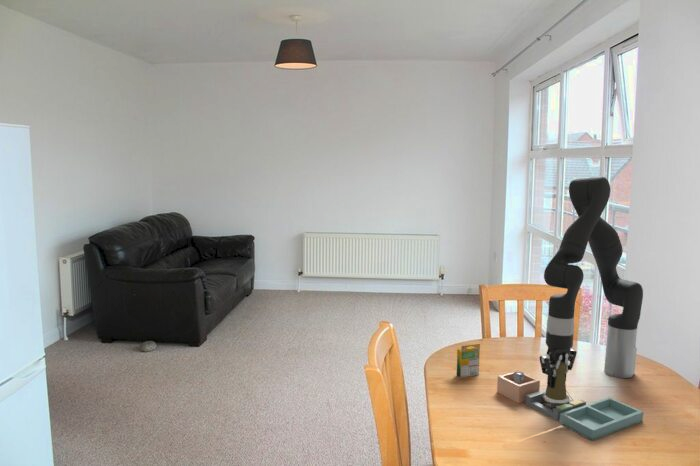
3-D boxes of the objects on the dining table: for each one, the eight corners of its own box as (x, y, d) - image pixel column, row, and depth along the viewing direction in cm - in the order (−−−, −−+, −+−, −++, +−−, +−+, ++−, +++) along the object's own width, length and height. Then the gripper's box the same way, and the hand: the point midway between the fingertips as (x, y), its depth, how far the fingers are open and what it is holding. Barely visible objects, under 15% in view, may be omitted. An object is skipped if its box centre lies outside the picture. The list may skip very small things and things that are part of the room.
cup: (517, 388, 182) (518, 370, 181) (538, 398, 174) (539, 380, 173) (496, 393, 177) (497, 375, 176) (518, 405, 170) (519, 386, 169)
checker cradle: (552, 397, 175) (553, 386, 174) (585, 413, 165) (586, 401, 164) (525, 405, 169) (526, 394, 169) (557, 422, 159) (558, 410, 158)
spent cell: (517, 391, 178) (518, 370, 177) (525, 395, 175) (526, 374, 174) (510, 393, 176) (511, 372, 175) (517, 397, 173) (519, 376, 172)
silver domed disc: (553, 400, 172) (554, 388, 171) (574, 409, 165) (575, 398, 165) (536, 405, 168) (537, 393, 168) (556, 415, 162) (557, 403, 161)
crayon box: (474, 373, 194) (475, 341, 192) (479, 376, 191) (480, 344, 189) (456, 375, 192) (457, 343, 190) (460, 378, 189) (461, 346, 187)
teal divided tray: (608, 406, 169) (609, 396, 169) (642, 421, 160) (643, 411, 159) (559, 423, 158) (559, 413, 158) (592, 440, 149) (593, 430, 148)
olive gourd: (568, 401, 163) (570, 365, 161) (546, 399, 164) (548, 363, 162) (564, 392, 169) (567, 357, 167) (544, 390, 170) (545, 356, 168)
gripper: (565, 323, 170) (562, 376, 173) (533, 330, 163) (529, 386, 166) (586, 330, 164) (582, 385, 166) (553, 338, 157) (550, 395, 159)
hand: (556, 385), depth 166 cm, fingers closed on olive gourd, 4 cm apart
